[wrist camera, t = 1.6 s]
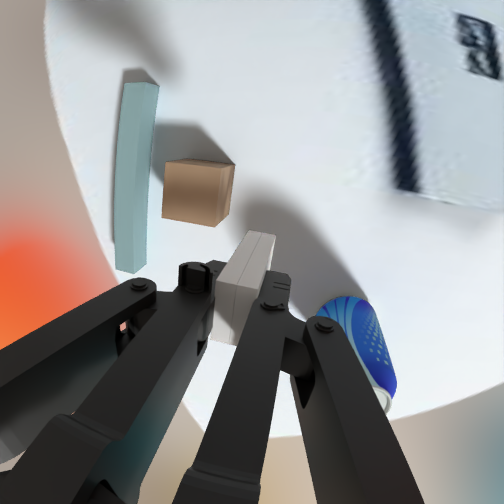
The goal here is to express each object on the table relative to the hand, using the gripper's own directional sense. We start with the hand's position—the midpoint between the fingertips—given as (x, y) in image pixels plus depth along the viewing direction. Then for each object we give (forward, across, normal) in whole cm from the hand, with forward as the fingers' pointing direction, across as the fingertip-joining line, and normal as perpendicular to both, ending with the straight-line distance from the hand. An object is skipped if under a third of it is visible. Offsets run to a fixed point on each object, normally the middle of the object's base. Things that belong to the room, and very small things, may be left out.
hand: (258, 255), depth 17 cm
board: (+18, -18, 0) cm, 26 cm away
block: (+18, -9, 0) cm, 20 cm away
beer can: (+19, +11, -14) cm, 26 cm away
